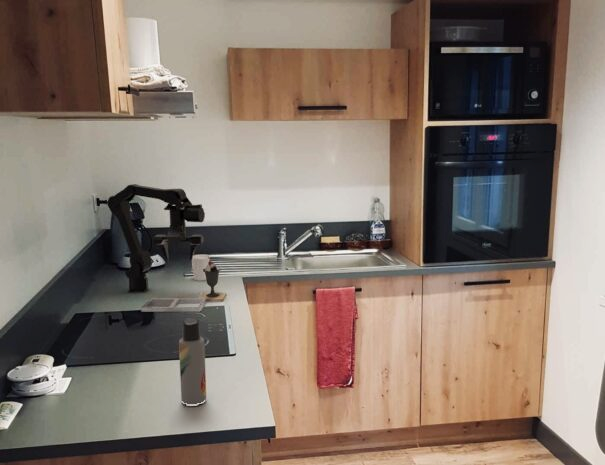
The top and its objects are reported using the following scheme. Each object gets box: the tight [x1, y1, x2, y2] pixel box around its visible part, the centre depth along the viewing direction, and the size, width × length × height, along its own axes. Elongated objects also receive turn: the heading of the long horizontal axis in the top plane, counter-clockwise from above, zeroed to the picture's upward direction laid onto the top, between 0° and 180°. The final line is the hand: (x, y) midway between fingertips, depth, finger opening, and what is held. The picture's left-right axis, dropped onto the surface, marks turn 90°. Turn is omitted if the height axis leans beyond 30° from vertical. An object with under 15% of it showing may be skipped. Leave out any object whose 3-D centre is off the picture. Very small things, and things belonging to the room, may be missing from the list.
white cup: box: [191, 254, 211, 282], centre depth 237 cm, size 8×8×10 cm
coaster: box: [198, 291, 227, 303], centre depth 209 cm, size 9×9×1 cm
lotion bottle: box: [178, 316, 207, 404], centre depth 126 cm, size 6×6×20 cm
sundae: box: [203, 257, 221, 297], centre depth 208 cm, size 7×7×15 cm
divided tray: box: [140, 298, 207, 313], centre depth 198 cm, size 21×11×2 cm, turn 89°
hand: (179, 260), depth 214 cm, fingers open, 9 cm apart
